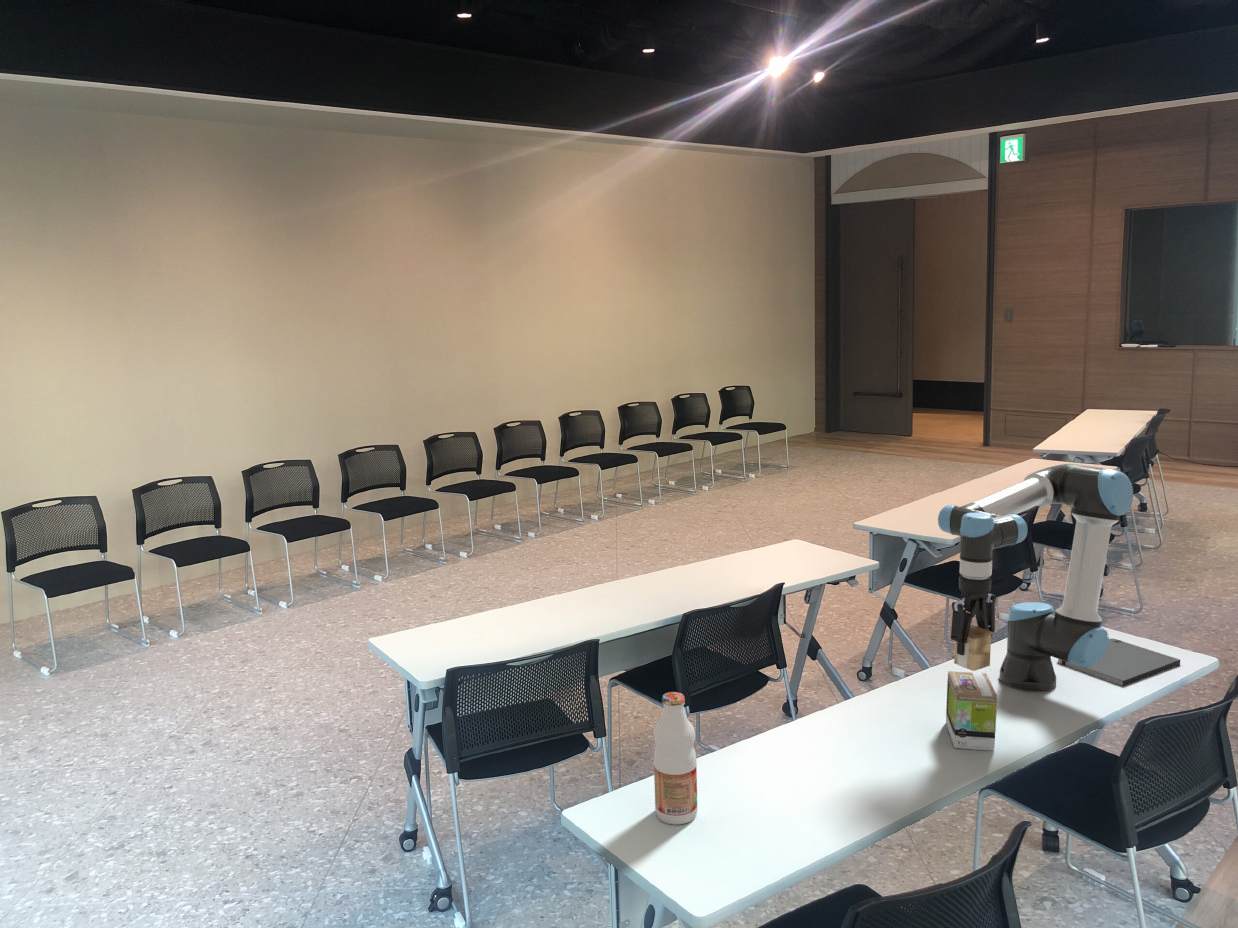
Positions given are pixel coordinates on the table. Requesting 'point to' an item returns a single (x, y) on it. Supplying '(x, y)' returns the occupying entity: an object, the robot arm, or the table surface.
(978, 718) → the tea box
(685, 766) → the fruit juice
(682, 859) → the table surface
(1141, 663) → the notebook
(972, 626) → the oak block
